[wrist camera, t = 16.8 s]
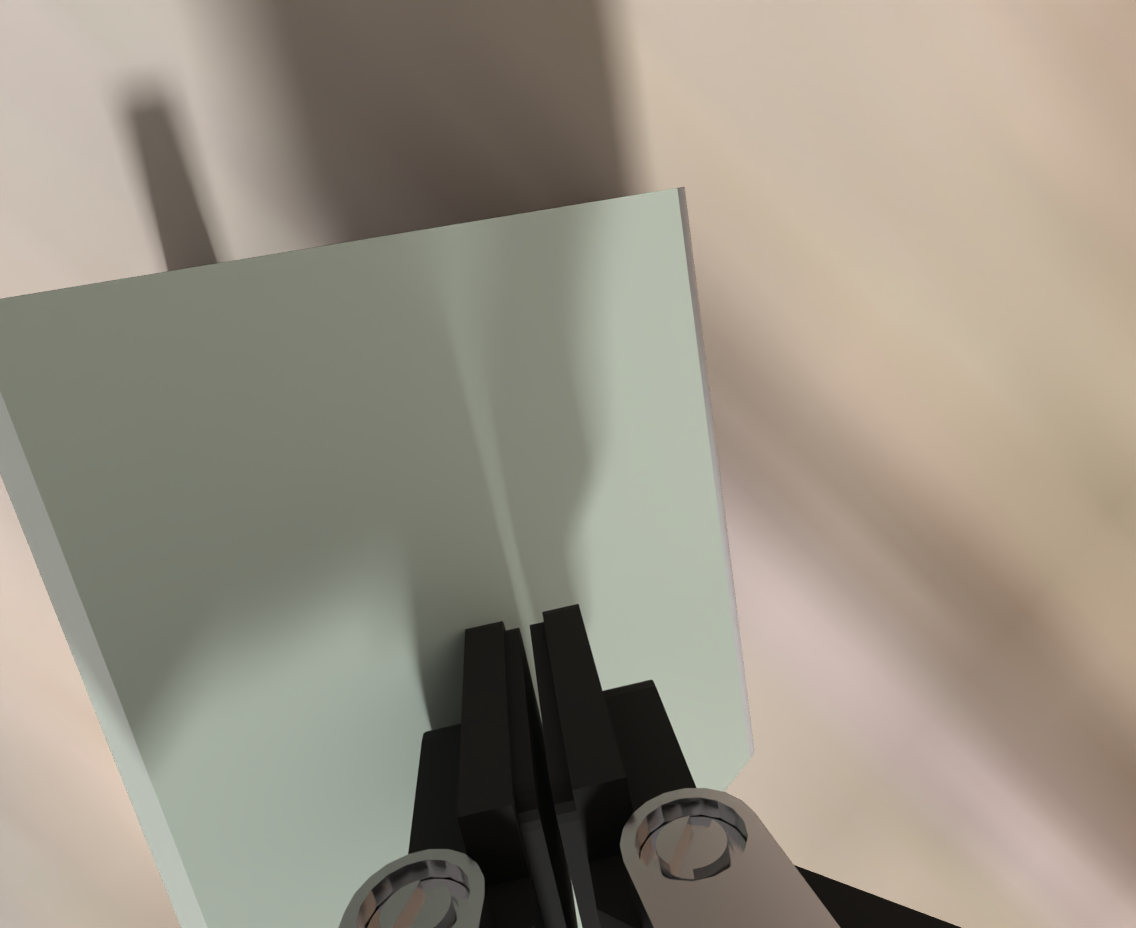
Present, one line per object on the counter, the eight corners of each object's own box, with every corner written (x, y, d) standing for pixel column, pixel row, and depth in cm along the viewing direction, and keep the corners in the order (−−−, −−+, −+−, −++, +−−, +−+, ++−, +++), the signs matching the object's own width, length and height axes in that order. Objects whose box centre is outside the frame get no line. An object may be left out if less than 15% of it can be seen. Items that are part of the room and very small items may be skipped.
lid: (-65, 312, 7) (-35, 304, 6) (649, 194, 15) (695, 185, 15) (297, 1217, 11) (340, 1272, 10) (722, 731, 19) (761, 743, 18)
